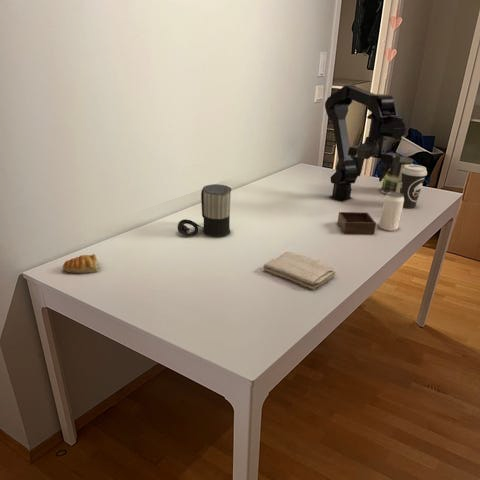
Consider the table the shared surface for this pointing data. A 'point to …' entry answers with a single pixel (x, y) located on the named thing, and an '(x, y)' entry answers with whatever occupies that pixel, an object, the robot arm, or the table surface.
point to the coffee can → (395, 176)
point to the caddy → (356, 223)
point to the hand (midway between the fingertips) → (369, 178)
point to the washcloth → (300, 269)
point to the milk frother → (212, 212)
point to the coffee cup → (412, 184)
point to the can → (391, 211)
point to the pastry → (82, 264)
